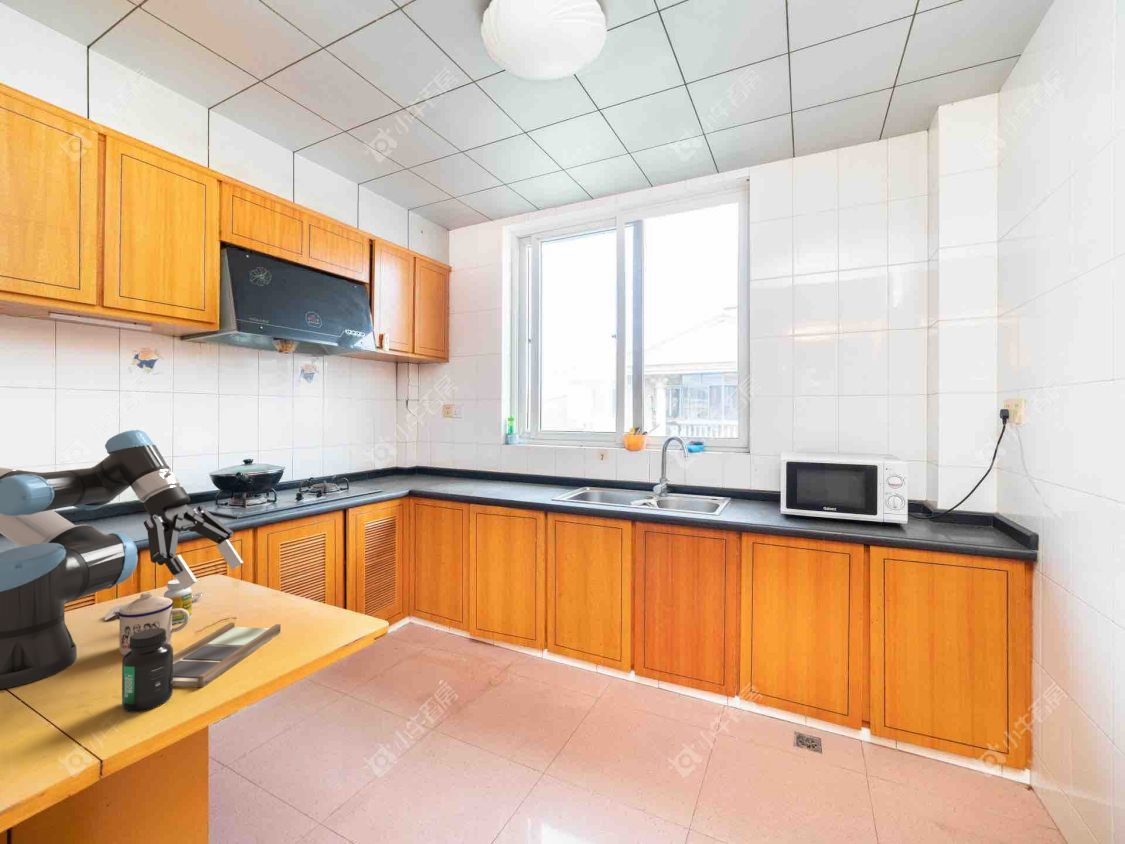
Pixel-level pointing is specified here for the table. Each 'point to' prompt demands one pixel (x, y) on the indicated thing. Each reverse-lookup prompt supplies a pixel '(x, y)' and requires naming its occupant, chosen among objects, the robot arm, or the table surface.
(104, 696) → the table surface
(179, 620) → the supplement bottle
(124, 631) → the teacup with lid
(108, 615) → the stirrer
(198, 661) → the window panel
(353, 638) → the table surface
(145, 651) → the supplement bottle
